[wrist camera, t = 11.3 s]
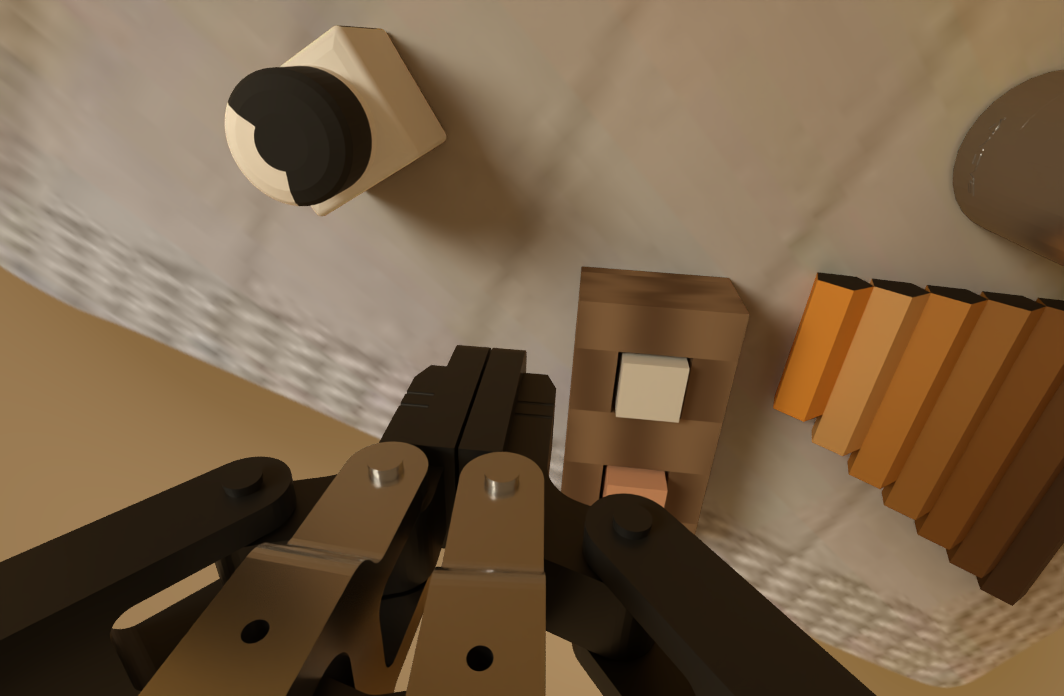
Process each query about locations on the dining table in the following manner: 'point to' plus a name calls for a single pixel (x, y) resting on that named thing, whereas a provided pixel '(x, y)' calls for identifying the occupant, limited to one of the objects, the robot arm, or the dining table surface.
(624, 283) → the board
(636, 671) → the robot arm
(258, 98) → the medicine bottle
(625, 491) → the orange-brown rectangular block
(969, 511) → the pan flute
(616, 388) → the beige rectangular block
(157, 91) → the dining table surface
